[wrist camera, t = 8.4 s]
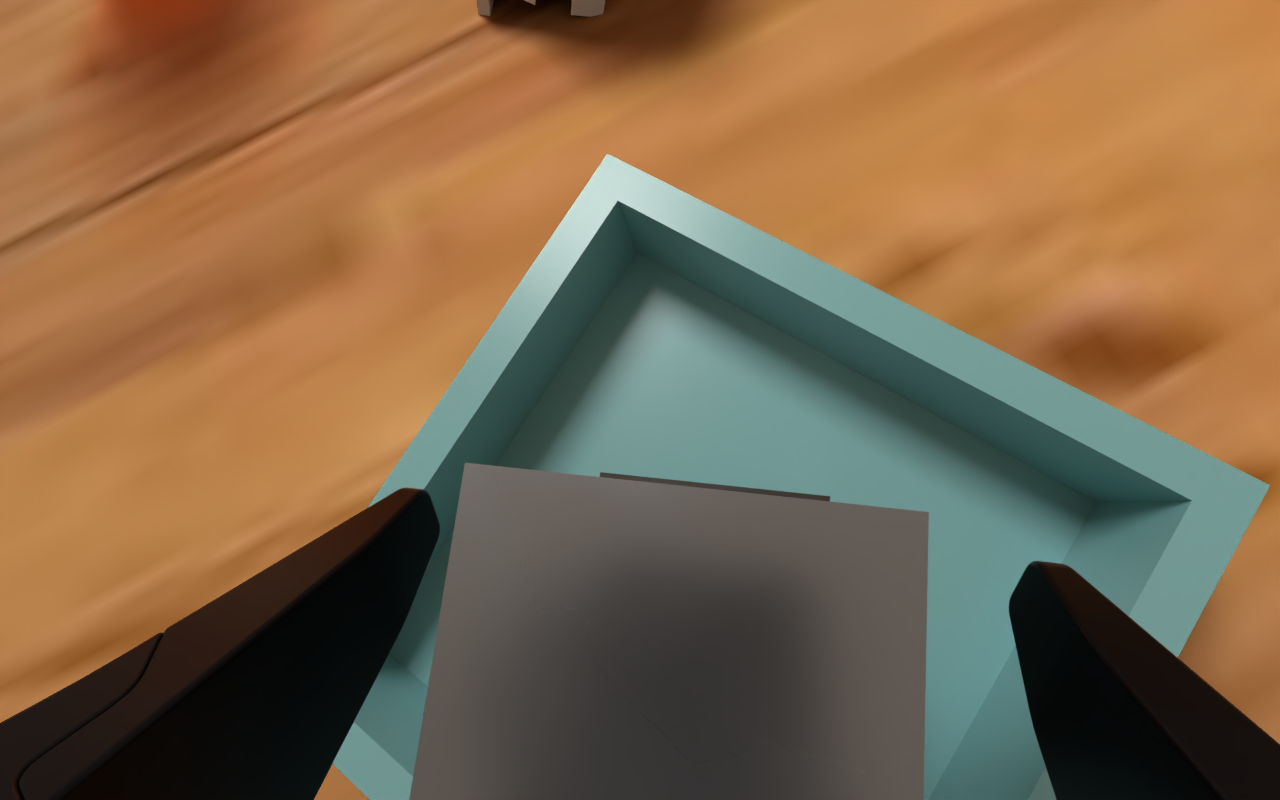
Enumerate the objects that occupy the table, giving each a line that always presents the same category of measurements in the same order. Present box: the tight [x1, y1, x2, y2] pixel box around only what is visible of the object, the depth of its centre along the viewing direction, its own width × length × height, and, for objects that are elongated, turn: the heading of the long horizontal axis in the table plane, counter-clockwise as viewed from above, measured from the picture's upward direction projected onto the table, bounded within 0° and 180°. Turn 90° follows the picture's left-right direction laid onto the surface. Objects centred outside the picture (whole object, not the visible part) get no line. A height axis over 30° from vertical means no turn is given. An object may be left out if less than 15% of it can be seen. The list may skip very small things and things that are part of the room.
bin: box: [332, 154, 1270, 800], centre depth 14 cm, size 16×16×4 cm
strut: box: [409, 463, 929, 800], centre depth 10 cm, size 5×5×11 cm
